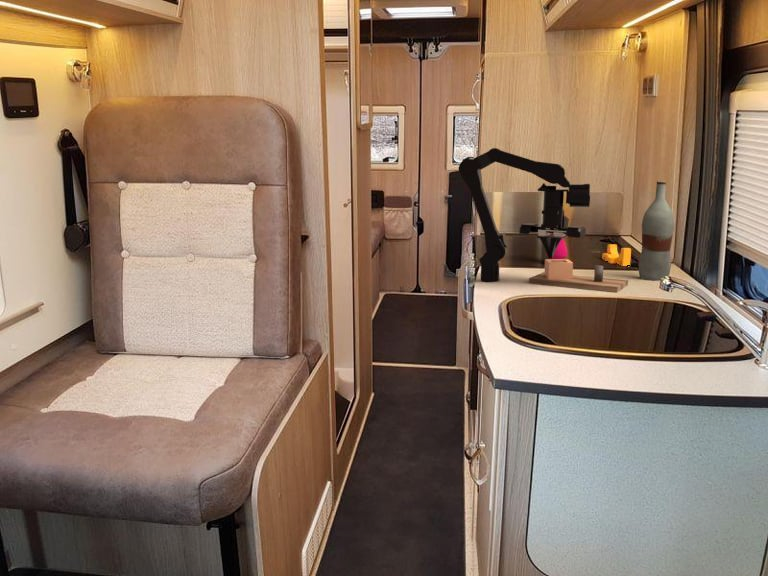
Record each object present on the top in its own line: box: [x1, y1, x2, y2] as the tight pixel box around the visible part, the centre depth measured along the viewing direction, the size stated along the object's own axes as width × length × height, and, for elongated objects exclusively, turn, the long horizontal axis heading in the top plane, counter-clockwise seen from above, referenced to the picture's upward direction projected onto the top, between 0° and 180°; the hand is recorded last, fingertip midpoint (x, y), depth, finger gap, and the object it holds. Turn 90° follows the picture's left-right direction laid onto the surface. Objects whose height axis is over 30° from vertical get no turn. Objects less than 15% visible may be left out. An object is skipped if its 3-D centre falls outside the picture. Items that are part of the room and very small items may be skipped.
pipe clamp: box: [601, 243, 632, 267], centre depth 221 cm, size 12×4×6 cm, turn 7°
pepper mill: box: [545, 214, 568, 259], centre depth 218 cm, size 7×7×20 cm
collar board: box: [528, 264, 629, 293], centre depth 186 cm, size 12×26×6 cm, turn 56°
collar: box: [544, 258, 574, 280], centre depth 189 cm, size 7×7×5 cm
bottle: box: [638, 180, 676, 281], centre depth 192 cm, size 9×9×30 cm
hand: (550, 258), depth 188 cm, fingers closed
